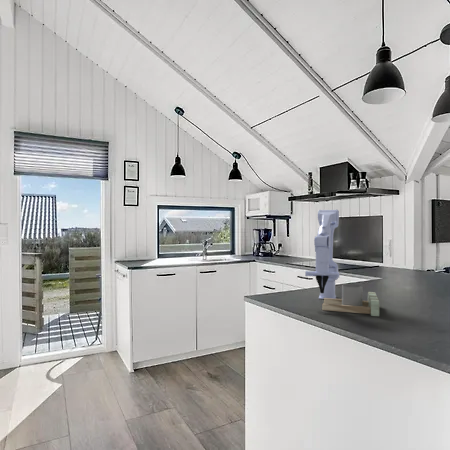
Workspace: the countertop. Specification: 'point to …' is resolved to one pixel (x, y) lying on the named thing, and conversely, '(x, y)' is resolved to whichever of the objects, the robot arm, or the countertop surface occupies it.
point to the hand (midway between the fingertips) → (322, 292)
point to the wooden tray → (367, 306)
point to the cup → (352, 295)
